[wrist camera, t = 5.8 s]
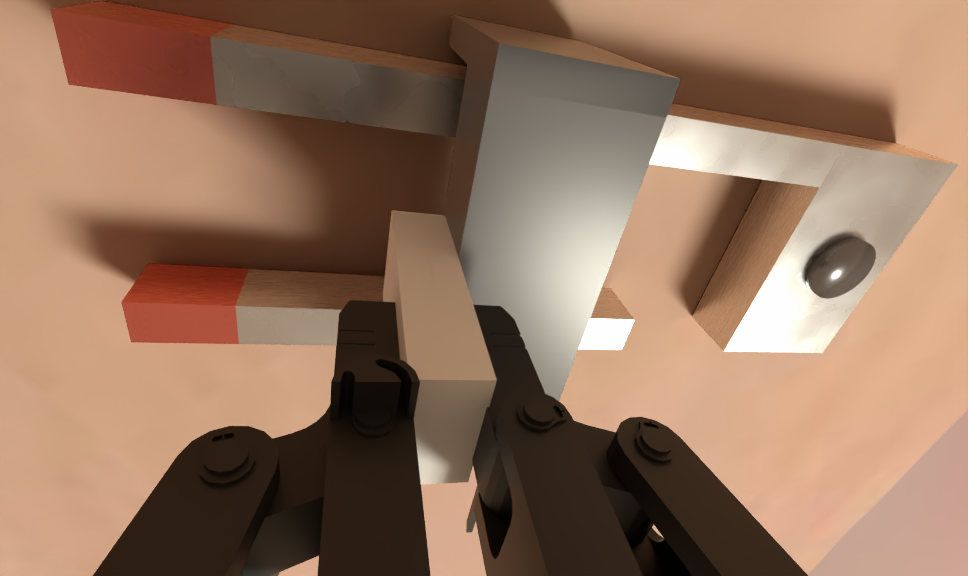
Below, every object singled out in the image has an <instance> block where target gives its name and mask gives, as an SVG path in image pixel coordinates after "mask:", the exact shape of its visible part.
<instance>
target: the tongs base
mask: <svg viewBox="0 0 968 576" xmlns="http://www.w3.org/2000/svg"><path fill="white" fill-rule="evenodd" d="M51 13H52V17H53V22H54V26H55V30H56V34H57V38H58V42H59V46H60V50H61V55H62V59H63V63H64V67H65V71H66V75H67V79H68V83H69V85H76V86H83V87H90V88H98V89H105V90H112V91H120V92H127V93H134V94H141V95H149V96H156V97H163V98H171V99H178V100H185V101H193V102H200V103H207V104H214V105H222V106H229V107H236V108H244V109H251V110H258V111H266V112H273V113H280V114H287V115H295V116H302V117H309V118H317V119H324V120H331V121H339V122H346V123H353V124H360V125H368V126H375V127H382V128H390V129H397V130H404V131H412V132H419V133H426V134H433V135H441V136H448V137H455V138H456V133H457V127H458V120H459V114H460V108H461V102H462V96H463V89H464V83H465V77H466V71H467V66H462V65H457V64H451V63H446V62H440V61H435V60H429V59H423V58H418V57H412V56H407V55H401V54H396V53H390V52H384V51H379V50H373V49H368V48H362V47H357V46H351V45H345V44H340V43H334V42H329V41H323V40H318V39H312V38H306V37H301V36H295V35H290V34H284V33H279V32H273V31H268V30H262V29H256V28H251V27H245V26H240V25H234V24H229V23H223V22H217V21H212V20H206V19H201V18H195V17H190V16H184V15H178V14H173V13H167V12H162V11H156V10H151V9H145V8H139V7H134V6H128V5H123V4H117V3H112V2H106V1H98V2H92V3H86V4H80V5H74V6H68V7H61V8H55V9H51ZM649 164H652V165H660V166H667V167H674V168H682V169H689V170H696V171H704V172H711V173H718V174H725V175H733V176H740V177H747V178H755V179H762V181H761V183H760V185H759V187H758V189H757V191H756V193H755V195H754V197H753V199H752V201H751V203H750V205H749V207H748V209H747V211H746V212H745V214H744V216H743V218H742V220H741V222H740V224H739V226H738V228H737V230H736V232H735V234H734V236H733V238H732V240H731V242H730V244H729V245H728V247H727V249H726V251H725V253H724V255H723V257H722V259H721V261H720V263H719V265H718V267H717V269H716V271H715V273H714V275H713V277H712V278H711V280H710V282H709V284H708V286H707V288H706V290H705V292H704V294H703V296H702V298H701V300H700V302H699V304H698V306H697V308H696V310H695V311H694V313H693V315H692V317H693V318H694V319H695V320H696V322H697V323H698V324H699V325H700V326H701V327H702V328H703V329H704V330H705V331H706V332H707V333H708V335H709V336H710V337H711V338H712V339H713V340H714V341H715V342H716V343H717V344H718V345H719V347H720V348H721V349H722V350H723V351H738V352H803V353H822V352H823V351H824V349H825V348H826V347H827V345H828V344H829V343H830V341H831V340H832V338H833V337H834V336H835V334H836V333H837V331H838V330H839V329H840V327H841V326H842V325H843V323H844V322H845V320H846V319H847V318H848V316H849V315H850V313H851V312H852V311H853V309H854V308H855V307H856V305H857V304H858V302H859V301H860V300H861V298H862V297H863V296H864V294H865V293H866V291H867V290H868V289H869V287H870V286H871V284H872V283H873V282H874V280H875V279H876V278H877V276H878V275H879V273H880V272H881V271H882V269H883V268H884V267H885V265H886V264H887V262H888V261H889V260H890V258H891V257H892V255H893V254H894V253H895V251H896V250H897V249H898V247H899V246H900V244H901V243H902V242H903V240H904V239H905V238H906V236H907V235H908V233H909V232H910V231H911V229H912V228H913V226H914V225H915V224H916V222H917V221H918V220H919V218H920V217H921V215H922V214H923V213H924V211H925V210H926V208H927V207H928V206H929V204H930V203H931V202H932V200H933V199H934V197H935V196H936V195H937V193H938V192H939V191H940V189H941V188H942V186H943V185H944V184H945V182H946V181H947V179H948V178H949V177H950V175H951V174H952V173H953V171H954V170H955V168H956V167H957V166H958V164H955V163H952V162H949V161H946V160H943V159H940V158H937V157H935V156H932V155H929V154H926V153H923V152H920V151H917V150H914V149H911V148H909V147H906V146H903V145H900V144H897V143H891V142H886V141H880V140H875V139H869V138H864V137H858V136H852V135H847V134H841V133H836V132H830V131H825V130H819V129H813V128H808V127H802V126H797V125H791V124H786V123H780V122H774V121H769V120H763V119H758V118H752V117H747V116H741V115H735V114H730V113H724V112H719V111H713V110H708V109H702V108H696V107H691V106H685V105H680V104H674V103H672V104H671V107H670V110H669V112H668V115H667V118H666V120H665V123H664V126H663V128H662V131H661V133H660V136H659V139H658V141H657V144H656V147H655V149H654V152H653V154H652V157H651V160H650V162H649Z"/></svg>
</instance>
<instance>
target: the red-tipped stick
mask: <svg viewBox="0 0 968 576" xmlns="http://www.w3.org/2000/svg"><path fill="white" fill-rule="evenodd" d="M384 278H385V276H371V275H352V274H334V273H316V272H297V271H279V270H260V269H242V268H223V267H205V266H187V265H168V264H150V263H149V264H148V265H147V266H146V268H145V269H144V271H143V272H142V274H141V275H140V276H139V278H138V279H137V281H136V282H135V284H134V285H133V286H132V288H131V289H130V291H129V292H128V294H127V295H126V296H125V298H124V299H123V301H122V306H123V310H124V314H125V319H126V323H127V327H128V331H129V335H130V339H131V342H150V343H216V344H281V345H337V333H338V321H339V313H340V312H341V310H342V309H343V308H344V307H345V305H346V304H347V303H348V302H349V301H350V300H359V301H380V302H383V288H384ZM633 322H634V319H633V317H632V316H631V315H630V313H629V312H628V311H627V309H626V308H625V307H624V305H623V304H622V303H621V301H620V300H619V299H618V297H617V296H616V295H615V293H614V292H613V291H612V289H610V288H602V289H601V291H600V294H599V297H598V299H597V302H596V304H595V307H594V310H593V312H592V315H591V318H590V320H589V323H588V326H587V328H586V331H585V333H584V336H583V339H582V341H581V344H580V347H579V349H607V350H622V347H623V345H624V343H625V340H626V338H627V336H628V334H629V331H630V329H631V327H632V325H633Z"/></svg>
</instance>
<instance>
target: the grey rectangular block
mask: <svg viewBox="0 0 968 576" xmlns="http://www.w3.org/2000/svg"><path fill="white" fill-rule="evenodd" d="M449 46H450V47H451V48H452V49H453V50H454V51H455V52H456V53H457V54H458V55H459V56H460V57H461V58H462V59H463V60H464V61H465V62H466V63H467V64H468V65H467V71H466V77H465V83H464V89H463V96H462V102H461V108H460V114H459V120H458V127H457V133H456V139H455V145H454V152H453V158H452V164H451V170H450V176H449V183H448V189H447V195H446V201H445V207H444V214H443V215H445V217H446V221H447V224H448V227H449V230H450V233H451V236H452V239H453V242H454V245H455V248H456V251H457V254H458V258H459V261H460V264H461V267H462V270H463V274H464V277H465V280H466V283H467V286H468V290H469V293H470V296H471V299H472V302H473V305H490V306H501V307H502V308H504V309H505V310H506V311H507V312H508V313H509V314H510V315H511V316H512V317H513V318H514V319H515V322H516V324H517V327H518V329H519V331H520V334H521V335H520V337H522V339H523V341H524V343H525V346H526V347H525V349H527V351H528V353H529V355H530V358H531V360H532V363H533V365H534V367H535V370H536V372H537V375H538V377H539V380H540V382H541V384H542V387H543V389H544V392H545V394H547V395H549V396H552V397H554V398H555V399H556V400H558V401H559V399H560V397H561V394H562V391H563V389H564V386H565V383H566V381H567V378H568V376H569V373H570V370H571V368H572V365H573V362H574V360H575V357H576V354H577V352H578V349H579V347H580V344H581V341H582V339H583V336H584V333H585V331H586V328H587V326H588V323H589V320H590V318H591V315H592V312H593V310H594V307H595V304H596V302H597V299H598V297H599V294H600V291H601V289H602V286H603V283H604V281H605V278H606V276H607V273H608V270H609V268H610V265H611V262H612V260H613V257H614V254H615V252H616V249H617V247H618V244H619V241H620V239H621V236H622V233H623V231H624V228H625V226H626V223H627V220H628V218H629V215H630V212H631V210H632V207H633V204H634V202H635V199H636V197H637V194H638V191H639V189H640V186H641V183H642V181H643V178H644V176H645V173H646V170H647V168H648V165H649V162H650V160H651V157H652V154H653V152H654V149H655V147H656V144H657V141H658V139H659V136H660V133H661V131H662V128H663V126H664V123H665V120H666V118H667V115H668V112H669V110H670V107H671V104H672V102H673V99H674V97H675V94H676V91H677V89H678V86H679V83H680V81H681V79H680V78H677V77H675V76H672V75H669V74H667V73H664V72H662V71H659V70H656V69H654V68H651V67H648V66H646V65H643V64H640V63H638V62H635V61H632V60H630V59H627V58H624V57H622V56H619V55H616V54H614V53H611V52H608V51H606V50H603V49H601V48H598V47H595V46H593V45H590V44H587V43H585V42H582V41H578V40H573V39H568V38H563V37H558V36H554V35H549V34H544V33H539V32H534V31H529V30H525V29H520V28H515V27H510V26H505V25H501V24H496V23H491V22H486V21H481V20H477V19H472V18H467V17H462V16H457V15H453V19H452V26H451V33H450V40H449Z"/></svg>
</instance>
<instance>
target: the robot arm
mask: <svg viewBox="0 0 968 576" xmlns="http://www.w3.org/2000/svg"><path fill="white" fill-rule="evenodd" d="M520 335H521V334H520V331H519V329H518V327H517V324H516V322H515V319H514V318H513V317H512V316H511V315H510V314H509V313H508V312H507V311H506V310H505V309H504V308H502V307H501V306H490V305H473V302H472V299H471V296H470V293H469V290H468V286H467V283H466V280H465V277H464V274H463V270H462V267H461V264H460V261H459V258H458V254H457V251H456V248H455V245H454V242H453V239H452V236H451V233H450V230H449V227H448V224H447V221H446V217H445V215H436V214H426V213H416V212H406V211H396V210H392V212H391V222H390V231H389V241H388V250H387V259H386V269H385V278H384V288H383V302H380V301H359V300H350V301H349V302H348V303H347V304H346V305H345V307H344V308H343V309H342V310H341V312H340V313H339V321H338V333H337V346H336V359H335V371H334V377H333V379H332V383H331V404H330V406H329V408H328V410H327V411H326V413H325V414H324V415H323V416H322V417H321V418H320V419H319V420H318V421H317V422H315V423H314V424H312V425H310V426H309V427H307V428H305V429H302V430H300V431H297V432H295V433H292V434H288V435H284V436H281V437H277V438H274V439H272V438H271V437H270V436H269V435H267V434H266V433H265V432H264V431H261V430H258V429H255V428H252V427H249V426H228V427H224V428H221V429H217V430H213V431H210V432H208V433H206V434H204V435H202V436H200V437H199V438H197V439H195V440H193V441H192V442H191V443H190V444H189V445H188V446H187V447H186V448H185V449H184V450H183V451H182V452H181V453H180V454H179V455H178V456H177V457H176V459H175V460H174V462H173V463H172V464H171V466H170V467H169V469H168V470H167V472H166V473H165V474H164V476H163V477H162V479H161V480H160V481H159V483H158V484H157V486H156V487H155V489H154V490H153V491H152V493H151V494H150V496H149V497H148V498H147V500H146V501H145V503H144V504H143V505H142V507H141V508H140V510H139V511H138V513H137V514H136V515H135V517H134V518H133V520H132V521H131V522H130V524H129V525H128V527H127V528H126V530H125V531H124V532H123V534H122V535H121V537H120V538H119V539H118V541H117V542H116V544H115V545H114V546H113V548H112V549H111V551H110V552H109V554H108V555H107V556H106V558H105V559H104V561H103V562H102V563H101V565H100V566H99V568H98V569H97V571H96V572H95V573H94V575H93V576H278V575H279V572H281V571H283V570H285V569H288V568H290V567H293V566H295V565H297V564H300V563H302V562H304V561H307V560H309V559H312V558H314V557H316V556H319V566H318V576H430V567H429V558H428V549H427V539H426V530H425V520H424V511H423V501H422V492H421V484H439V483H458V482H468V480H469V477H470V473H471V470H472V466H474V471H475V475H476V480H477V489H476V492H475V495H474V499H473V502H472V505H471V509H470V512H469V515H468V519H467V531H466V532H472V531H473V527H474V524H475V521H476V523H477V529H478V534H479V539H480V544H481V549H482V554H483V559H484V565H485V570H486V575H487V576H808V575H807V574H806V573H805V572H804V571H803V570H802V569H801V568H800V566H799V565H798V564H797V563H796V562H795V561H794V560H793V559H792V558H791V557H790V556H789V555H788V553H787V552H786V551H785V550H784V549H783V548H782V547H781V546H780V545H779V544H778V543H777V542H776V541H775V539H774V538H773V537H772V536H771V535H770V534H769V533H768V532H767V531H766V530H765V529H764V528H763V526H762V525H761V524H760V523H759V522H758V521H757V520H756V519H755V518H754V517H753V516H752V515H751V514H750V512H749V511H748V510H747V509H746V508H745V507H744V506H743V505H742V504H741V503H740V502H739V501H738V500H737V498H736V497H735V496H734V495H733V494H732V493H731V492H730V491H729V490H728V489H727V488H726V487H725V485H724V484H723V483H722V482H721V481H720V480H719V479H718V478H717V477H716V476H715V475H714V474H713V473H712V471H711V470H710V469H709V468H708V467H707V466H706V465H705V464H704V463H703V462H702V461H701V460H700V458H699V457H698V456H697V455H696V454H695V453H694V452H693V451H692V450H691V449H690V448H689V447H688V446H687V444H686V443H685V442H684V441H683V440H682V439H681V438H680V437H679V436H678V435H677V434H675V433H674V432H673V431H672V430H671V429H670V428H668V427H666V426H665V425H663V424H661V423H659V422H657V421H655V420H651V419H647V418H643V417H633V418H628V419H626V420H624V421H623V422H621V423H620V425H619V427H618V430H617V432H616V433H615V432H612V431H608V430H604V429H600V428H596V427H592V426H588V425H585V424H582V423H579V422H576V421H574V420H573V419H572V416H571V415H570V413H569V412H568V411H567V409H566V408H565V406H564V405H563V404H561V403H560V402H559V401H558V400H556V399H555V398H554V397H552V396H549V395H547V394H545V392H544V389H543V387H542V384H541V382H540V380H539V377H538V375H537V372H536V370H535V367H534V365H533V363H532V360H531V358H530V355H529V353H528V351H527V349H525V347H526V346H525V343H524V341H523V339H522V337H520ZM653 525H655V526H656V528H657V529H658V530H659V532H660V533H661V534H662V536H663V537H664V538H663V537H661V536H660V535H658V534H657V533H656V532H655V531H654V530H653V528H652V526H653Z"/></svg>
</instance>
